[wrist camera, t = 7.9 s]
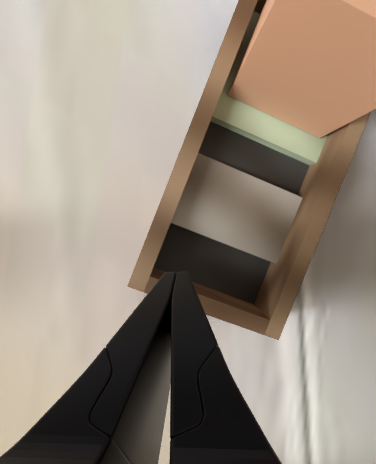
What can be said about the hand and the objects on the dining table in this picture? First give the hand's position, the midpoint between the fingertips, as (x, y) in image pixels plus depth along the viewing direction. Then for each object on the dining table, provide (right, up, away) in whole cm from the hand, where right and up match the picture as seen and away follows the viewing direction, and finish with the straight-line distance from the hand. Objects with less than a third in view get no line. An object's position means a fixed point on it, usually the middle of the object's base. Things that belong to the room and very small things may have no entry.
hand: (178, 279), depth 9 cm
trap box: (+5, +6, +9) cm, 12 cm away
